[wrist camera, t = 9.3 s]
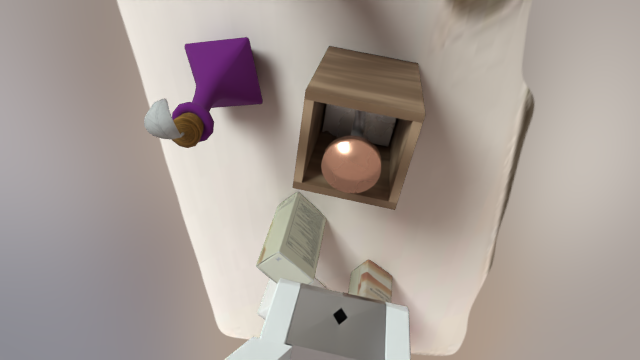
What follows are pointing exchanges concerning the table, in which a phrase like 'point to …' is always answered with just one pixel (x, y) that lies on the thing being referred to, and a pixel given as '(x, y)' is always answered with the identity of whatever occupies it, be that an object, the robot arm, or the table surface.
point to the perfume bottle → (208, 91)
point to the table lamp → (354, 147)
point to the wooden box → (370, 96)
